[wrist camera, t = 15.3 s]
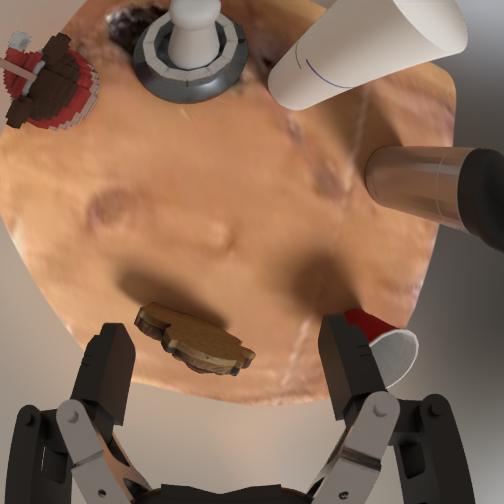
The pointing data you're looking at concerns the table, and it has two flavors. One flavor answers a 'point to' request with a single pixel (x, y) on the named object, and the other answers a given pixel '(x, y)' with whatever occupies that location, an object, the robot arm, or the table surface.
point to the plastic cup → (386, 345)
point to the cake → (48, 83)
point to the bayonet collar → (184, 81)
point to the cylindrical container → (364, 47)
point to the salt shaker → (193, 33)
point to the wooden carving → (194, 341)
